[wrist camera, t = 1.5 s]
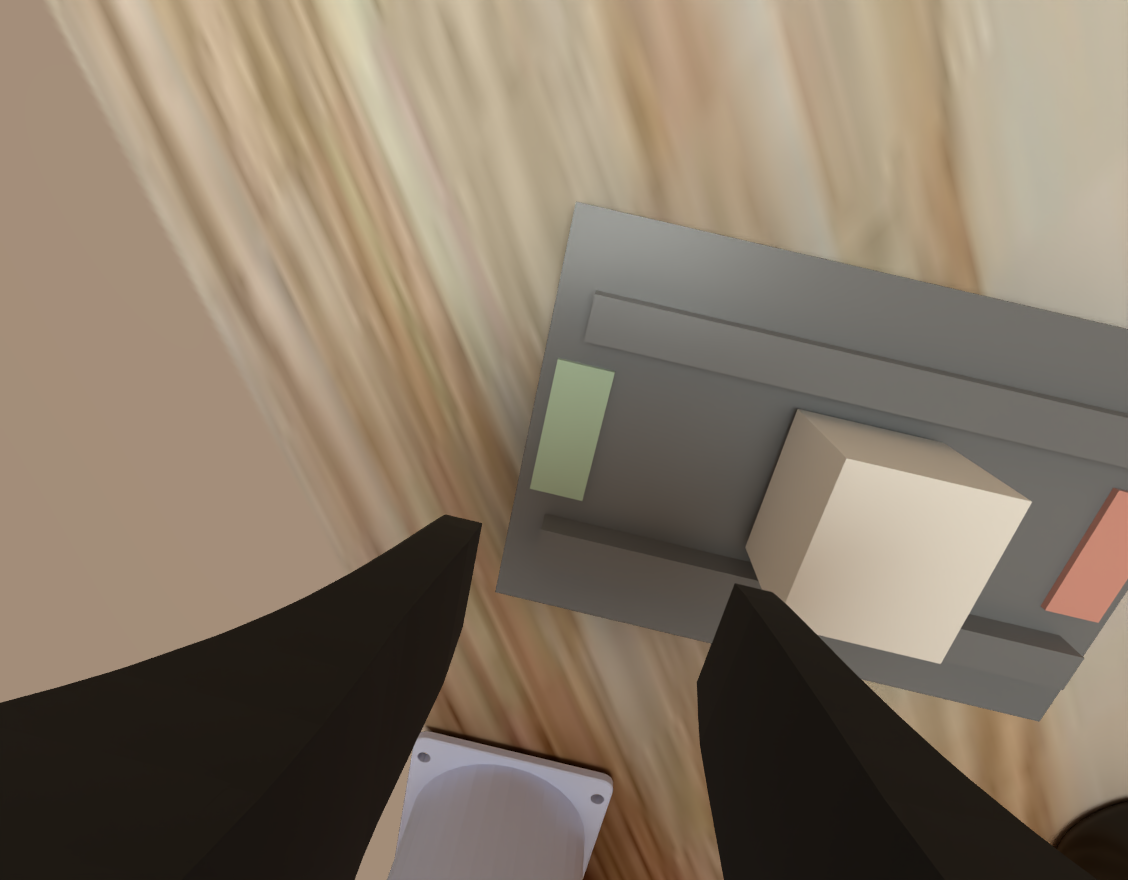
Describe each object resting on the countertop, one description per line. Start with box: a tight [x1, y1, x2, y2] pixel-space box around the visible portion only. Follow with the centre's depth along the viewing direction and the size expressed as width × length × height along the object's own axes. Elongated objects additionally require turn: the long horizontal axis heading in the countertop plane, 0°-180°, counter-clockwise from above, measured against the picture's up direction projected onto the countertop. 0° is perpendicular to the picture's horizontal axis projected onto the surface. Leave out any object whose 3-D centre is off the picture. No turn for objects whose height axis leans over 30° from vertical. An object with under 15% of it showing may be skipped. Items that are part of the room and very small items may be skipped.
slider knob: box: [745, 409, 1032, 664], centre depth 15 cm, size 4×4×4 cm
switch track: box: [495, 202, 1128, 721], centre depth 17 cm, size 12×18×2 cm, turn 78°
